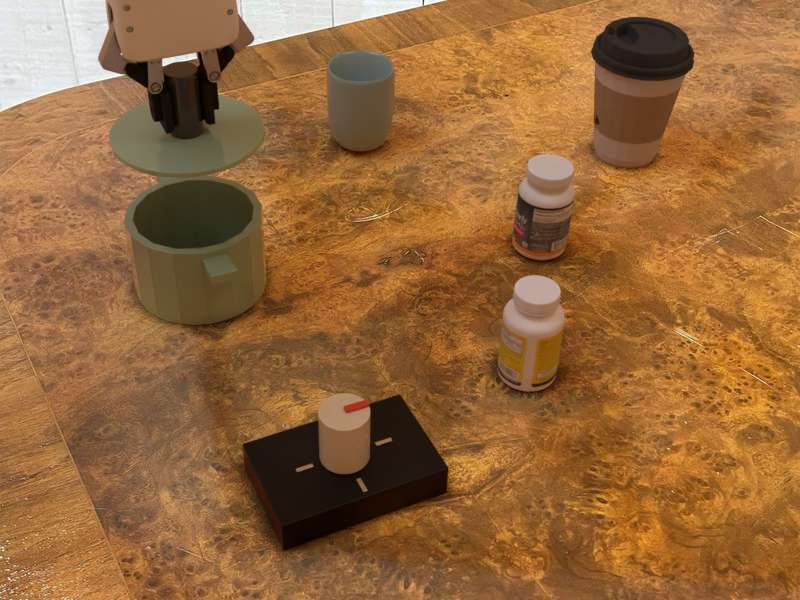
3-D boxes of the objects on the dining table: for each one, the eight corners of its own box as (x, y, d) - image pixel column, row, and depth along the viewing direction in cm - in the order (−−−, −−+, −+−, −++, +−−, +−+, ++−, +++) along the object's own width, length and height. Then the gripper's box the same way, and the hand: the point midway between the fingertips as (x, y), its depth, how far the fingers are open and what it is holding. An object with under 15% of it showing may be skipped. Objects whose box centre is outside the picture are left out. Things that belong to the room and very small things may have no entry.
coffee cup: (577, 122, 131) (595, 7, 122) (671, 132, 130) (696, 17, 121) (574, 172, 123) (593, 53, 113) (674, 183, 122) (702, 63, 112)
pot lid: (132, 198, 88) (120, 123, 84) (94, 120, 98) (82, 49, 93) (287, 163, 93) (283, 90, 88) (237, 92, 102) (231, 23, 98)
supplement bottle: (557, 356, 99) (571, 274, 92) (553, 397, 95) (568, 314, 88) (499, 348, 99) (509, 266, 93) (493, 389, 95) (503, 305, 89)
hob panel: (283, 551, 81) (281, 524, 79) (244, 468, 87) (242, 442, 85) (446, 492, 86) (449, 466, 84) (399, 418, 92) (400, 392, 90)
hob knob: (330, 480, 83) (329, 433, 79) (312, 445, 85) (310, 398, 82) (377, 465, 84) (378, 419, 81) (358, 431, 87) (358, 384, 83)
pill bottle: (507, 231, 114) (516, 151, 107) (559, 229, 114) (572, 149, 108) (517, 263, 109) (527, 182, 103) (571, 261, 110) (585, 181, 103)
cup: (387, 123, 130) (389, 48, 124) (398, 157, 124) (400, 80, 118) (323, 127, 129) (322, 51, 122) (331, 162, 123) (330, 84, 116)
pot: (164, 357, 97) (153, 285, 92) (116, 247, 109) (103, 178, 104) (294, 321, 101) (291, 250, 96) (233, 219, 114) (227, 151, 108)
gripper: (247, -116, 87) (260, 85, 99) (43, -90, 82) (83, 120, 94) (279, -84, 82) (288, 123, 94) (64, -54, 77) (103, 163, 89)
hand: (186, 119), depth 94 cm, fingers closed on pot lid, 3 cm apart
